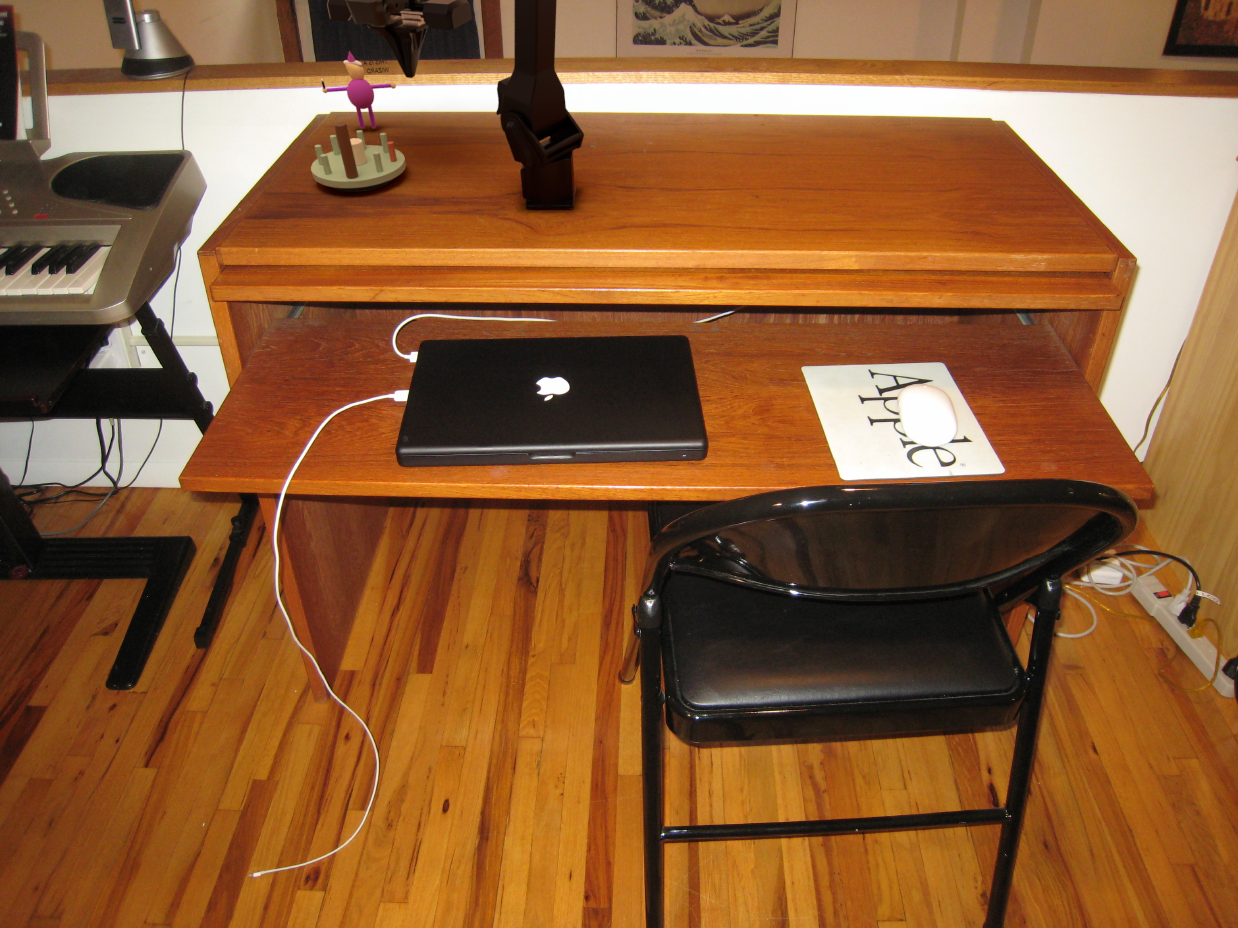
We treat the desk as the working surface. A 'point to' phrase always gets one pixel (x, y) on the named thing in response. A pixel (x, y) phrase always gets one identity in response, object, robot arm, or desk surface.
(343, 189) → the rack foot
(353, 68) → the wizard figurine
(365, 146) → the pegged crank wheel
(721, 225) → the desk surface
